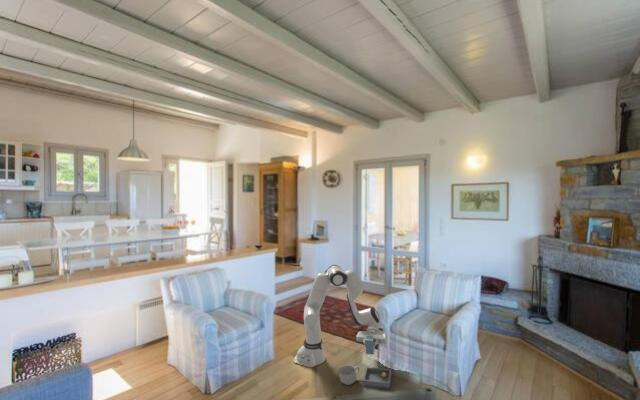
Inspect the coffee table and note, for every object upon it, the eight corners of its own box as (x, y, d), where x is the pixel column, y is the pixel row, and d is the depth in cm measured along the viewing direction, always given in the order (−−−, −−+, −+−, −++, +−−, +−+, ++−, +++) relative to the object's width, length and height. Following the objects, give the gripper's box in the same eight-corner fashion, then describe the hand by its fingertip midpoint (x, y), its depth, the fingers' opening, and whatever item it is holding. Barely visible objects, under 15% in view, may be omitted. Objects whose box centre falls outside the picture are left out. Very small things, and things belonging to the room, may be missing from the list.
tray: (363, 386, 193) (362, 380, 193) (366, 372, 207) (366, 367, 207) (389, 388, 189) (389, 383, 189) (391, 374, 202) (391, 369, 202)
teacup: (343, 389, 192) (341, 376, 192) (337, 378, 203) (336, 366, 202) (364, 383, 196) (363, 371, 195) (357, 373, 206) (356, 361, 206)
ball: (380, 375, 198) (382, 370, 199) (381, 376, 200) (383, 371, 201) (384, 378, 196) (386, 373, 197) (385, 379, 198) (387, 374, 199)
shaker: (366, 353, 209) (364, 339, 207) (367, 348, 214) (366, 335, 212) (373, 354, 207) (372, 340, 206) (374, 349, 212) (373, 335, 210)
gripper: (358, 327, 225) (353, 338, 212) (387, 329, 218) (384, 341, 205) (358, 335, 226) (354, 347, 213) (387, 338, 219) (385, 350, 206)
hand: (369, 344), depth 209 cm, fingers closed on shaker, 5 cm apart
